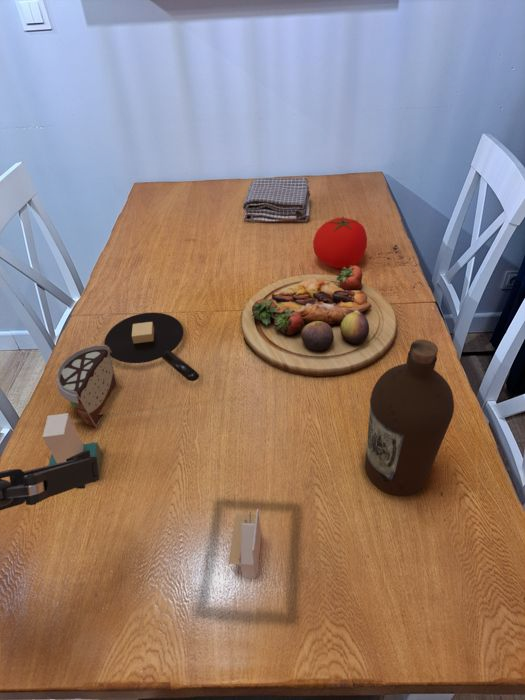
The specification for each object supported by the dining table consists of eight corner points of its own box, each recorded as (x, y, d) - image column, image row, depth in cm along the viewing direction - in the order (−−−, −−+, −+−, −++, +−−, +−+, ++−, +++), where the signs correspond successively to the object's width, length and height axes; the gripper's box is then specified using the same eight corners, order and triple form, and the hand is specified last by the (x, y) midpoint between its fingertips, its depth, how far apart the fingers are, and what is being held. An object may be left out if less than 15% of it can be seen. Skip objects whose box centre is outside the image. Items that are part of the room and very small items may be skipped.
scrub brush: (98, 479, 76) (77, 434, 69) (52, 486, 76) (26, 441, 68) (102, 453, 80) (82, 408, 72) (58, 459, 79) (34, 414, 72)
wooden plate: (325, 266, 119) (326, 236, 113) (429, 331, 99) (437, 298, 93) (212, 317, 106) (208, 285, 100) (307, 404, 86) (308, 370, 80)
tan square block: (153, 341, 98) (151, 333, 97) (133, 343, 98) (131, 336, 97) (154, 328, 101) (152, 321, 100) (134, 331, 101) (132, 323, 100)
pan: (91, 342, 101) (88, 333, 100) (156, 308, 109) (154, 300, 107) (161, 408, 87) (159, 399, 85) (230, 364, 94) (229, 354, 93)
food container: (92, 379, 93) (76, 339, 86) (122, 383, 92) (108, 343, 85) (59, 430, 84) (39, 389, 77) (92, 435, 83) (74, 394, 76)
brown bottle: (402, 433, 80) (431, 311, 64) (446, 483, 73) (491, 360, 56) (347, 457, 77) (361, 335, 60) (387, 512, 70) (416, 390, 53)
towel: (250, 200, 148) (249, 175, 143) (311, 201, 146) (312, 175, 141) (243, 224, 137) (241, 197, 132) (308, 225, 135) (309, 198, 130)
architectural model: (230, 577, 64) (225, 550, 59) (237, 527, 69) (233, 498, 64) (257, 579, 64) (253, 552, 59) (261, 529, 69) (259, 500, 64)
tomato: (374, 258, 121) (379, 217, 113) (345, 282, 113) (349, 240, 106) (333, 244, 127) (336, 204, 119) (303, 266, 119) (304, 225, 112)
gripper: (-240, 590, 38) (-72, 516, 59) (89, 538, 40) (137, 485, 61) (-247, 492, 38) (-78, 454, 59) (78, 446, 40) (130, 424, 61)
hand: (31, 469), depth 60 cm, fingers open, 13 cm apart
